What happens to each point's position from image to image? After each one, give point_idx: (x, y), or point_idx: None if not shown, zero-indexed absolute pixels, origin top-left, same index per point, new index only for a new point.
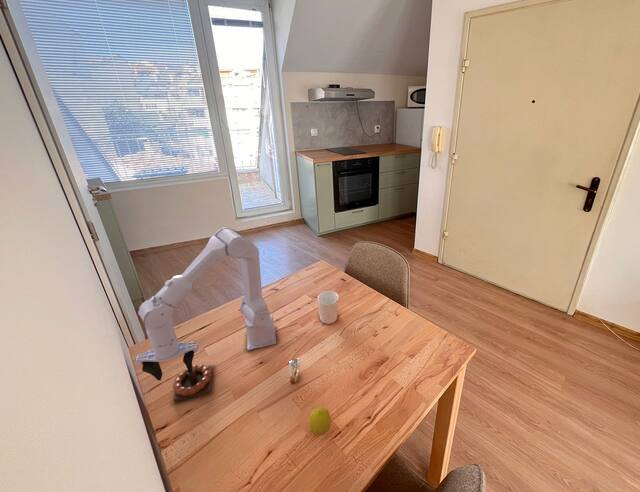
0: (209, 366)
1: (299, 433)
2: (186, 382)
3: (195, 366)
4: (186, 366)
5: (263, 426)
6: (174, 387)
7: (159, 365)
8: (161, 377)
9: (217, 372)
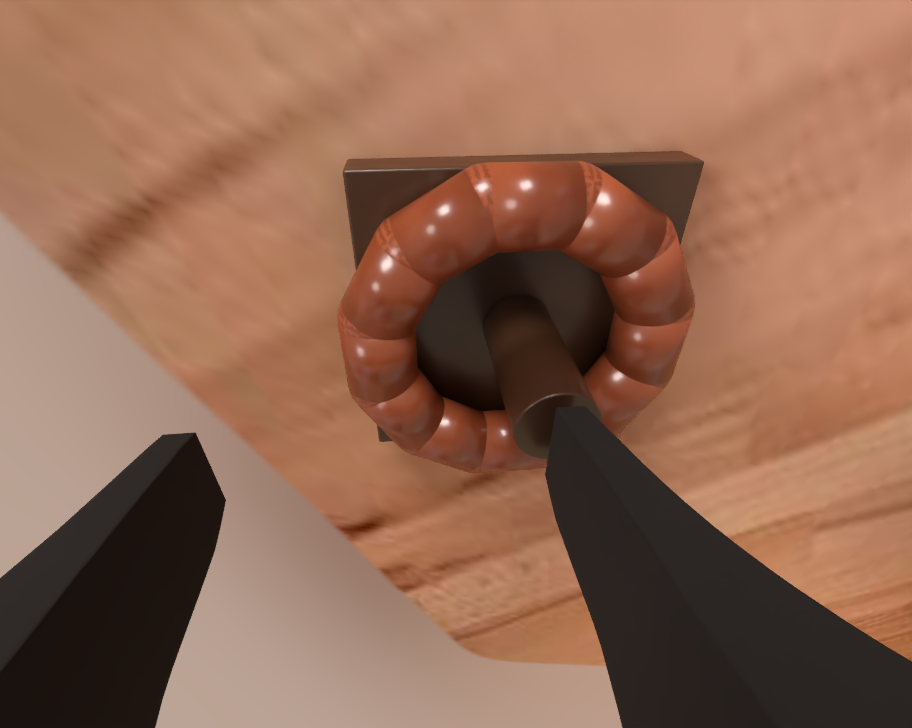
0: (676, 172)
1: (894, 599)
2: (447, 316)
3: (560, 226)
4: (602, 648)
5: (802, 573)
6: (370, 416)
7: (87, 563)
8: (214, 477)
9: (710, 228)
